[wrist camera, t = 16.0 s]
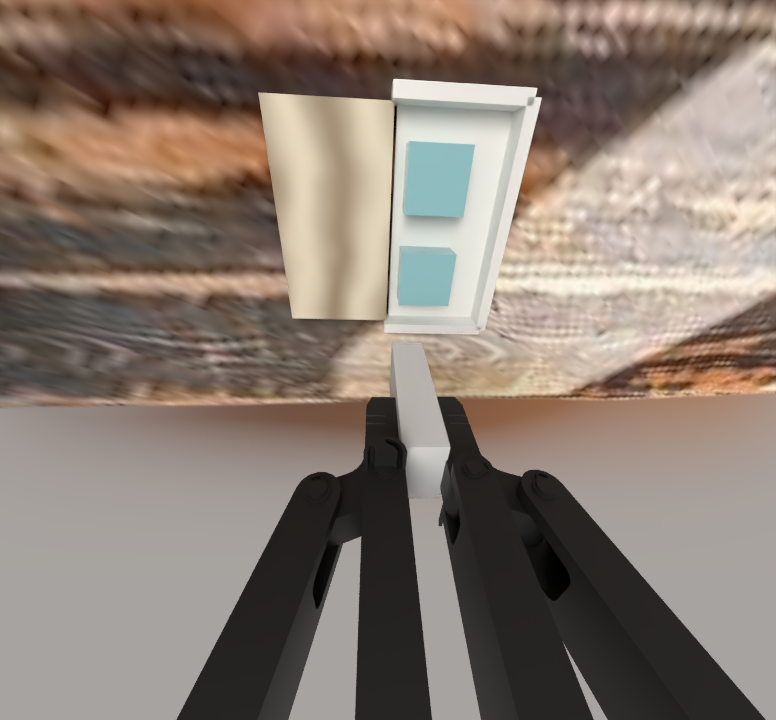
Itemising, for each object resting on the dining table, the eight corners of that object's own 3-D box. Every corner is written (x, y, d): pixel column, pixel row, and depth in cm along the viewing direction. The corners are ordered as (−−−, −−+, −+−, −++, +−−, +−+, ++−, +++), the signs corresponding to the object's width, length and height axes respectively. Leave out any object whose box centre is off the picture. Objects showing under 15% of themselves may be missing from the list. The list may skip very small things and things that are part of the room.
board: (296, 310, 33) (292, 318, 31) (267, 98, 23) (258, 92, 21) (385, 312, 33) (385, 320, 31) (393, 105, 23) (394, 100, 22)
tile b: (396, 294, 31) (398, 304, 29) (399, 245, 29) (401, 252, 26) (442, 295, 32) (448, 306, 29) (449, 247, 29) (456, 254, 26)
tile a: (402, 211, 27) (404, 214, 24) (406, 144, 24) (409, 141, 22) (455, 213, 27) (463, 217, 25) (464, 147, 25) (475, 144, 22)
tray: (383, 320, 34) (384, 332, 31) (391, 89, 23) (393, 78, 20) (475, 322, 34) (483, 334, 32) (525, 97, 23) (544, 88, 21)
